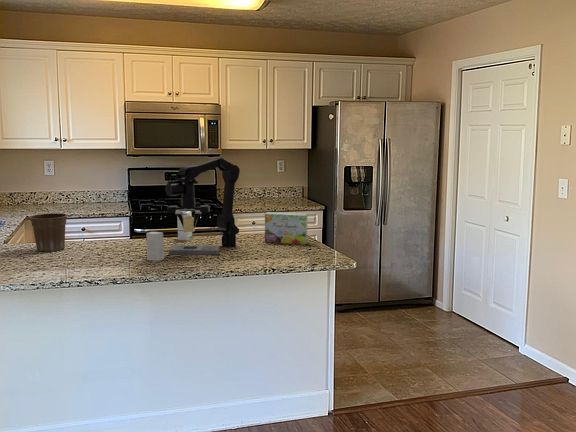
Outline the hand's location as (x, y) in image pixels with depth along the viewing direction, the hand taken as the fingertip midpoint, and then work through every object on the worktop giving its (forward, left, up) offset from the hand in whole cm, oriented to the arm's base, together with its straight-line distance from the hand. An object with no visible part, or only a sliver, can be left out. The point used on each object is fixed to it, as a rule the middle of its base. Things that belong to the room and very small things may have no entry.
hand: (189, 227), depth 261 cm
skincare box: (+13, +15, -12) cm, 23 cm away
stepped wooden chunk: (0, 0, -2) cm, 2 cm away
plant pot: (+66, -6, -12) cm, 67 cm away
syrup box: (+7, -32, -12) cm, 35 cm away
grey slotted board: (-2, -1, -12) cm, 12 cm away
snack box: (-45, -24, -12) cm, 53 cm away
